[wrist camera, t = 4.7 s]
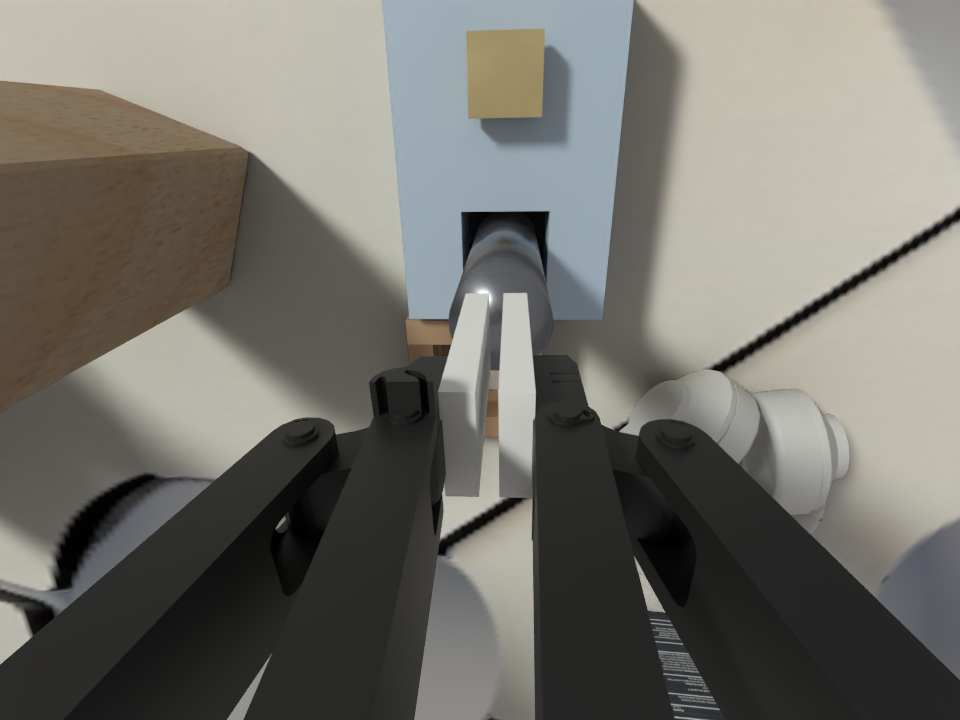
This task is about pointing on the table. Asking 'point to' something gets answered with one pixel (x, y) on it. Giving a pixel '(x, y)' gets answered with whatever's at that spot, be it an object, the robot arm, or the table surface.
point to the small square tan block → (505, 73)
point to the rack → (428, 341)
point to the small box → (682, 674)
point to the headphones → (758, 436)
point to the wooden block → (103, 226)
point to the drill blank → (506, 277)
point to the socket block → (507, 143)
